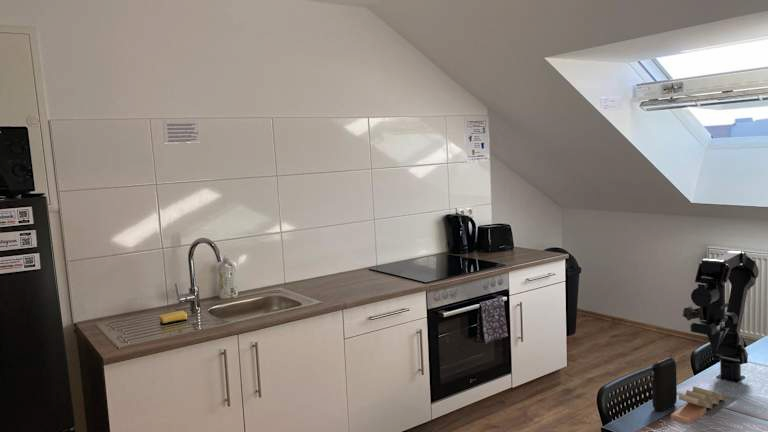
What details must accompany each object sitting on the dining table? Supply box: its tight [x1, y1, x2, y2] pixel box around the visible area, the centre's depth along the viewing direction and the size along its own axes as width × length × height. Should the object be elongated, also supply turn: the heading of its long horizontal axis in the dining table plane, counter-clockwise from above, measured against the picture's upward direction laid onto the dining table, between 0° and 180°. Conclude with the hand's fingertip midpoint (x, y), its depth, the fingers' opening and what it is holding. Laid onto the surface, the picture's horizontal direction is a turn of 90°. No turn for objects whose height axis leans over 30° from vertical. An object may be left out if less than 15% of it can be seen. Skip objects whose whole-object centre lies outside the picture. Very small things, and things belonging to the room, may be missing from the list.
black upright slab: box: [650, 357, 678, 412], centre depth 173 cm, size 11×3×15 cm, turn 123°
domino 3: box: [685, 389, 720, 405], centre depth 172 cm, size 2×5×10 cm
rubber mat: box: [679, 395, 738, 417], centre depth 175 cm, size 17×9×1 cm, turn 127°
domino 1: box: [678, 393, 713, 409], centre depth 170 cm, size 2×5×10 cm
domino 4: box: [692, 386, 727, 401], centre depth 175 cm, size 2×5×10 cm
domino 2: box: [670, 402, 706, 425], centre depth 167 cm, size 2×5×10 cm
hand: (714, 349), depth 182 cm, fingers closed
